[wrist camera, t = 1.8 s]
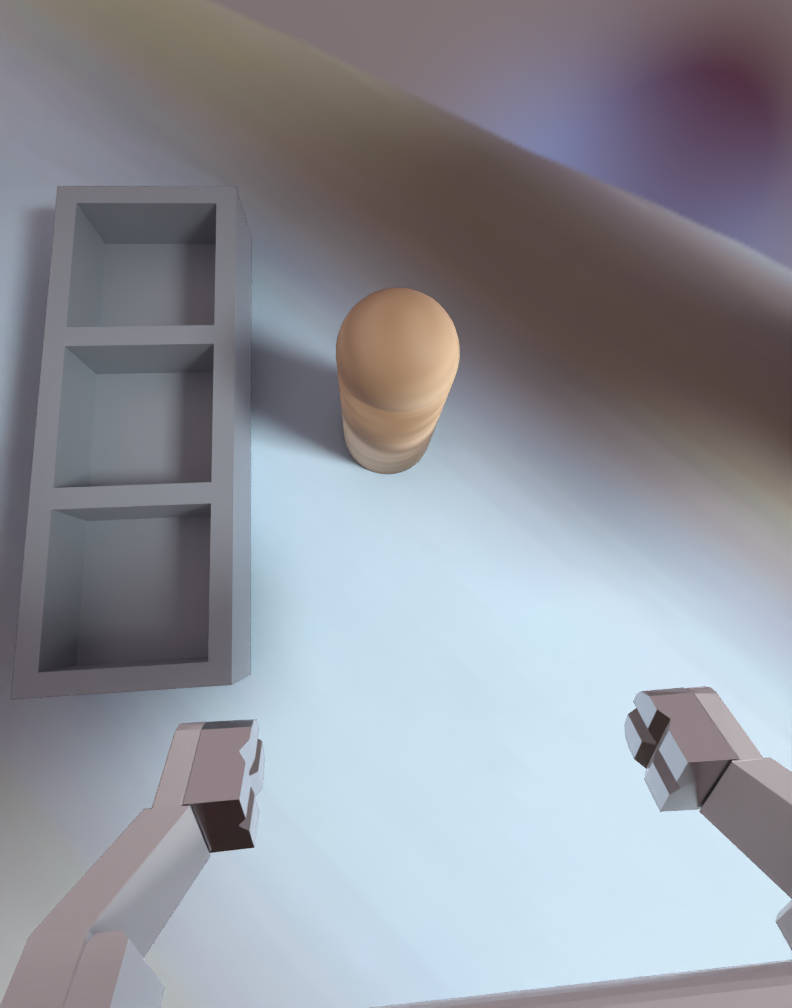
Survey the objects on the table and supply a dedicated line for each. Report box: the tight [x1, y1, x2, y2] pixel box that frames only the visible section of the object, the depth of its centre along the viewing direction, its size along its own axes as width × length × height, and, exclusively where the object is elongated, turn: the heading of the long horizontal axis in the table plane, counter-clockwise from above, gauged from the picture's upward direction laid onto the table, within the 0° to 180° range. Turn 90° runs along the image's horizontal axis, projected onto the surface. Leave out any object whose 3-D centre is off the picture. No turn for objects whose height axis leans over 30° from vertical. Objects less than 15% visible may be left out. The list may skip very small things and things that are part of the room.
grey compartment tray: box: [11, 186, 251, 699], centre depth 26 cm, size 9×25×4 cm, turn 3°
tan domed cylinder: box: [336, 288, 460, 474], centre depth 23 cm, size 5×5×11 cm
